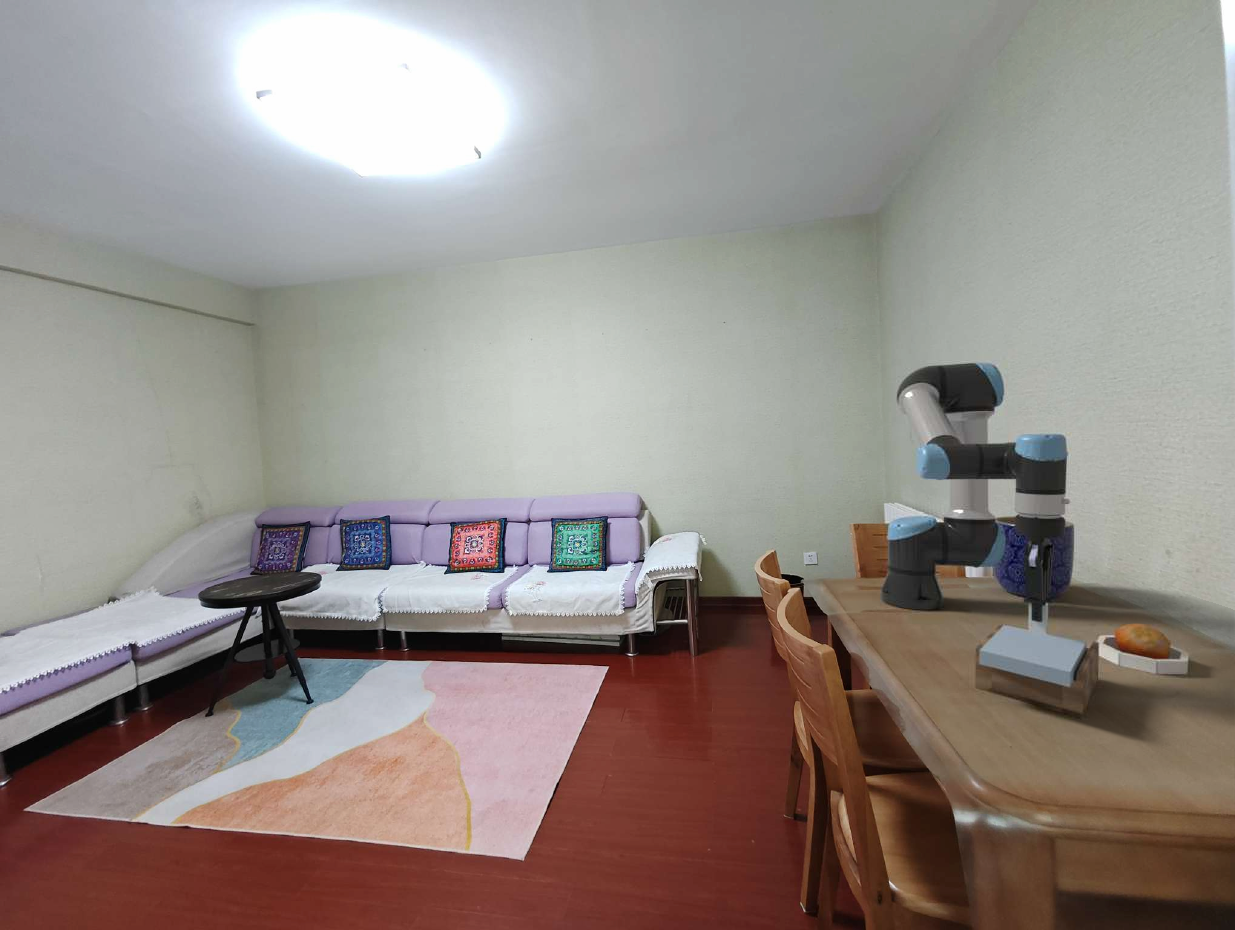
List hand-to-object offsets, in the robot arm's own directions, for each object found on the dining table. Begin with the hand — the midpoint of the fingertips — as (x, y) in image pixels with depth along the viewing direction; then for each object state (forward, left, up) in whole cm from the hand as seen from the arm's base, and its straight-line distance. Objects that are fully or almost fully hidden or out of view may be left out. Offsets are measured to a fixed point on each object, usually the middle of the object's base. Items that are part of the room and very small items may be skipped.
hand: (1037, 636), depth 103 cm
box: (+1, -5, -8) cm, 9 cm away
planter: (-12, +60, -8) cm, 61 cm away
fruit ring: (+13, +22, -8) cm, 26 cm away
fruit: (+13, +22, -8) cm, 26 cm away
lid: (+1, -9, -2) cm, 9 cm away
